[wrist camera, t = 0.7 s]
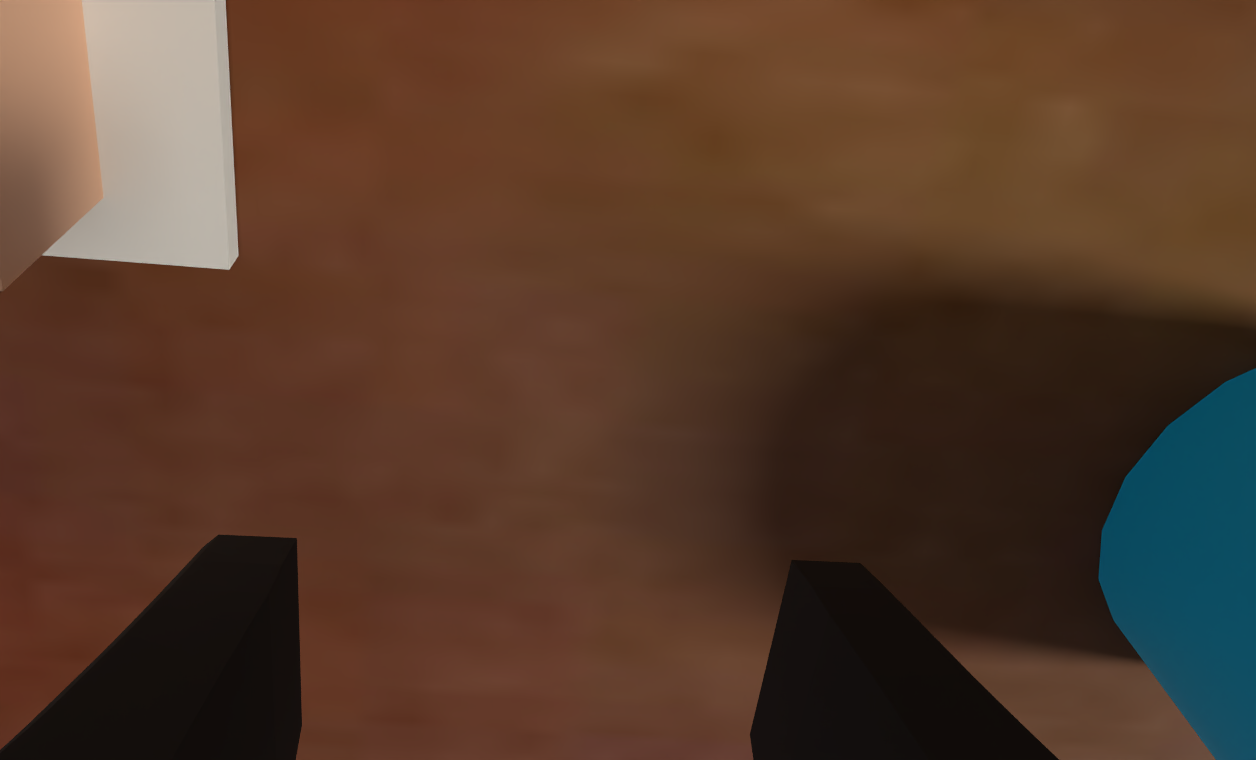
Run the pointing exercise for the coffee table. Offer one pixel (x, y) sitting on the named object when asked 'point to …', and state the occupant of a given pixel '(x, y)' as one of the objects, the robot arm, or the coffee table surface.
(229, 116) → the push mat
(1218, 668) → the mug
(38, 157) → the t block
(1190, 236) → the coffee table surface
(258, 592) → the robot arm
